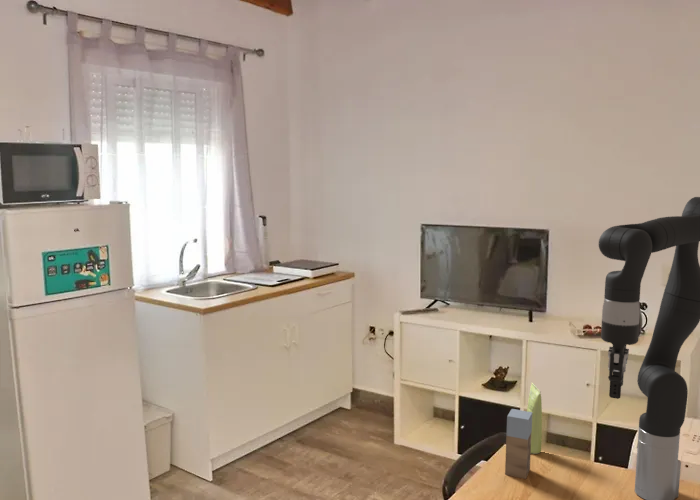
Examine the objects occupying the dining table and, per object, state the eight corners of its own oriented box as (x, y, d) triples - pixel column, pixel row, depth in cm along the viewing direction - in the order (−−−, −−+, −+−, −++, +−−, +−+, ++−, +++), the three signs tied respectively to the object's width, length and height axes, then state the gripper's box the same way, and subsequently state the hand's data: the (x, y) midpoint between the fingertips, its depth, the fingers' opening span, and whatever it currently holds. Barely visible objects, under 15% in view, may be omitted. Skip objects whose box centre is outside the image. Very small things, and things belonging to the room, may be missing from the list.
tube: (546, 451, 183) (549, 386, 180) (537, 456, 179) (540, 391, 176) (529, 444, 187) (531, 381, 184) (519, 450, 183) (522, 385, 180)
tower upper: (510, 446, 173) (510, 427, 172) (530, 450, 171) (531, 431, 170) (505, 455, 168) (506, 435, 168) (526, 459, 166) (527, 439, 165)
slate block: (511, 427, 172) (511, 408, 172) (531, 431, 170) (532, 412, 169) (506, 435, 167) (507, 416, 167) (527, 439, 165) (528, 419, 164)
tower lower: (509, 465, 174) (510, 446, 173) (529, 470, 171) (530, 450, 171) (504, 474, 169) (505, 455, 168) (525, 479, 167) (526, 459, 166)
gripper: (638, 329, 128) (633, 405, 131) (640, 314, 141) (636, 383, 143) (598, 325, 132) (594, 399, 134) (604, 310, 144) (600, 378, 147)
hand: (616, 391), depth 139 cm, fingers open, 8 cm apart
